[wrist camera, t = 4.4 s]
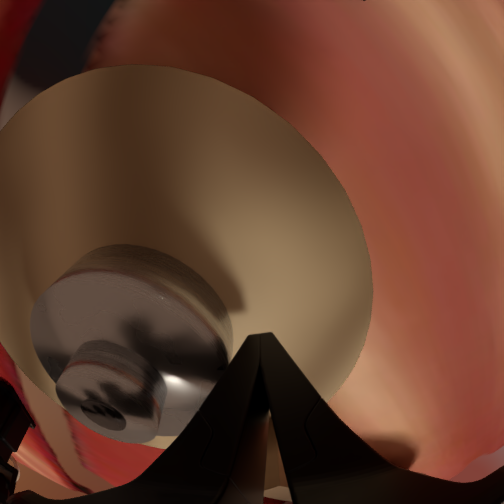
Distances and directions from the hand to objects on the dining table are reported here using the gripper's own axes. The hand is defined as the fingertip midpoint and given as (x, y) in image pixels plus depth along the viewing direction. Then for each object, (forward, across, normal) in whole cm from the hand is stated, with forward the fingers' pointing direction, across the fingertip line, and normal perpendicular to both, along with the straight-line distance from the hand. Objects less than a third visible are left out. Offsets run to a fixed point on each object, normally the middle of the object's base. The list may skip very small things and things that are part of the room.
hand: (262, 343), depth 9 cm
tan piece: (+3, +6, 0) cm, 6 cm away
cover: (+1, +4, 0) cm, 5 cm away
